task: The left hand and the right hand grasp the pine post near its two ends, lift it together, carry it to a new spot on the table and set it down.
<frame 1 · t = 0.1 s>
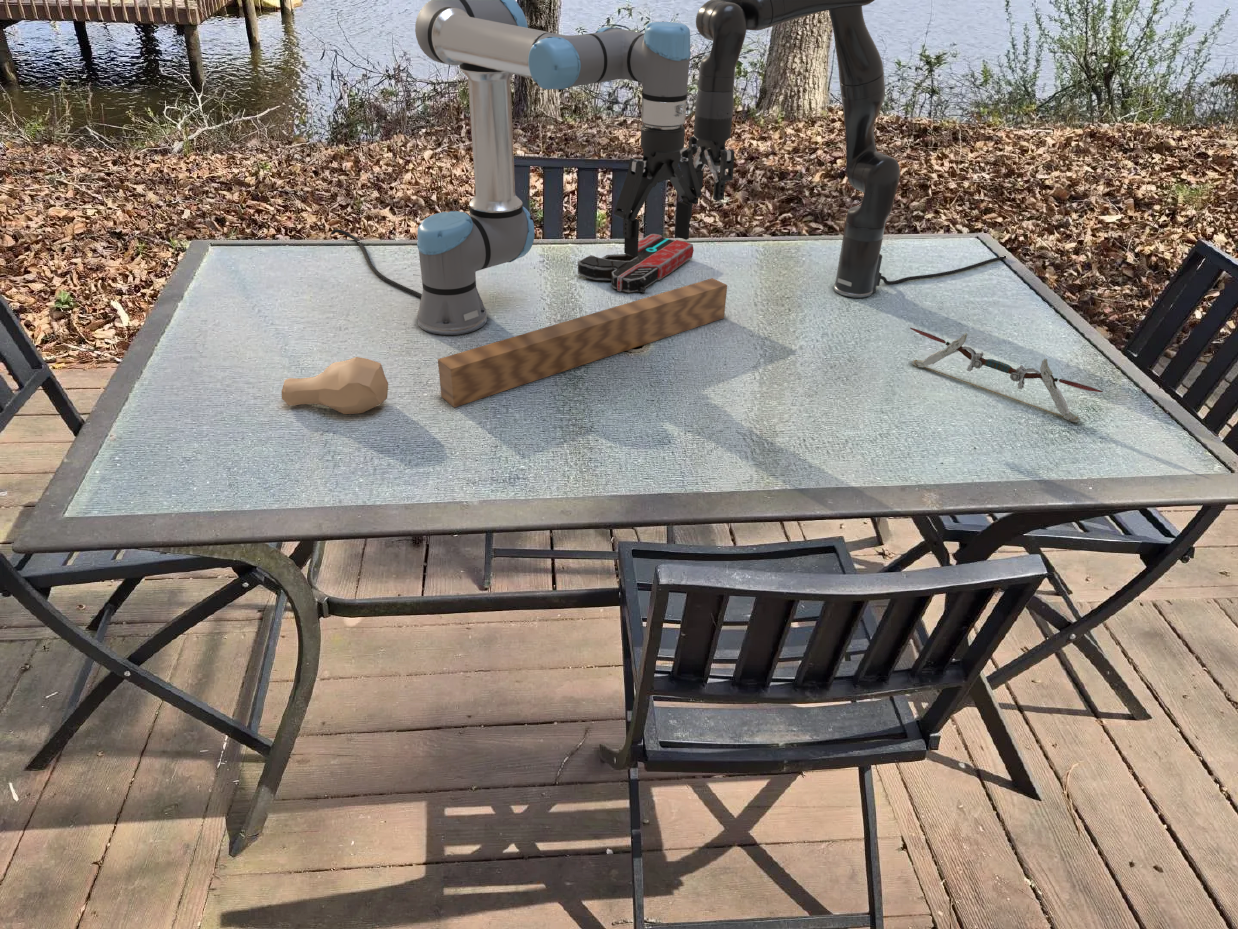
left hand: (657, 245, 161), 28 cm above the table, tool pointing down, fingers open, 13 cm apart
right hand: (707, 194, 184), 29 cm above the table, tool pointing down, fingers open, 8 cm apart
gun: (637, 269, 226), on the table
post: (595, 354, 185), on the table
squash: (338, 405, 165), on the table
bow: (990, 392, 176), on the table
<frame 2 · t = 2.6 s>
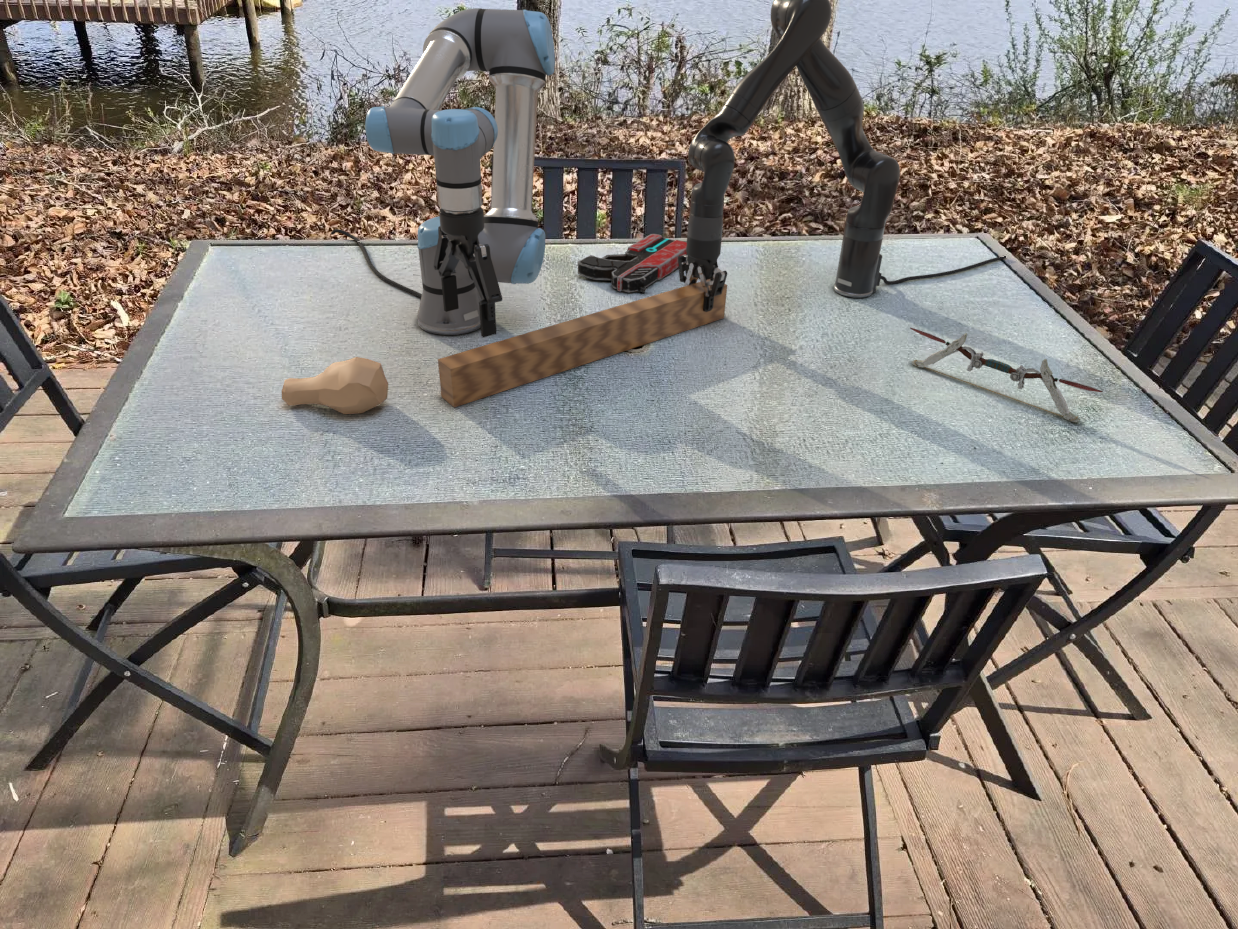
left hand: (469, 322, 162), 15 cm above the table, tool pointing down, fingers open, 13 cm apart
right hand: (698, 306, 199), 4 cm above the table, tool pointing down, fingers closed on post, 5 cm apart
post: (595, 354, 185), on the table, touching right hand
everything else where it was.
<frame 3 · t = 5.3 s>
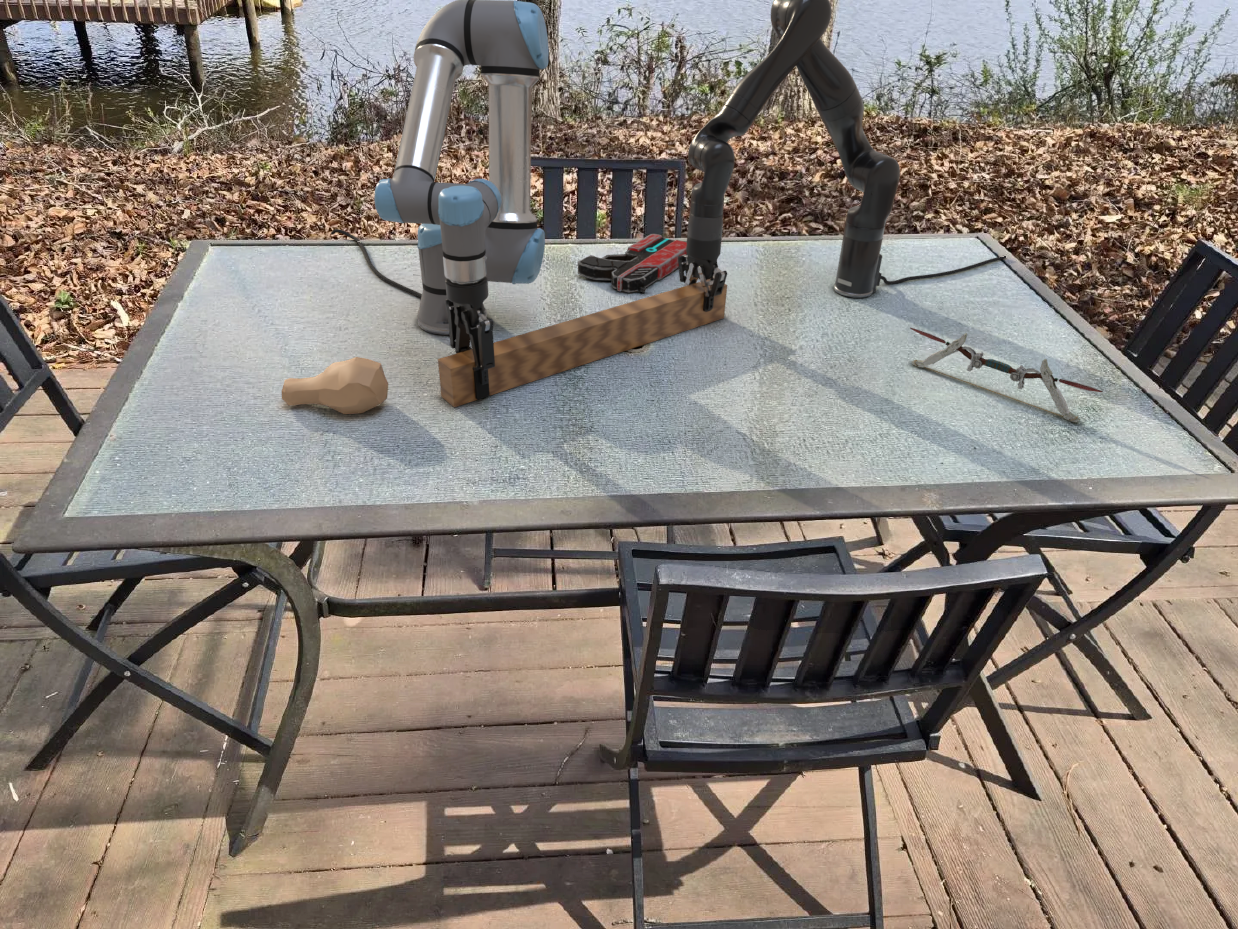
left hand: (474, 390, 170), 1 cm above the table, tool pointing down, fingers closed on post, 5 cm apart
right hand: (698, 306, 199), 4 cm above the table, tool pointing down, fingers closed on post, 5 cm apart
post: (595, 353, 185), on the table, touching left hand, right hand
everything else where it was.
when the left hand's fingers open (1 cm above the table, at t = 11.9 s): post stays where it is, on the table.
when the right hand's fingers open (4 cm above the table, at t = 12.1 s): post stays where it is, on the table.
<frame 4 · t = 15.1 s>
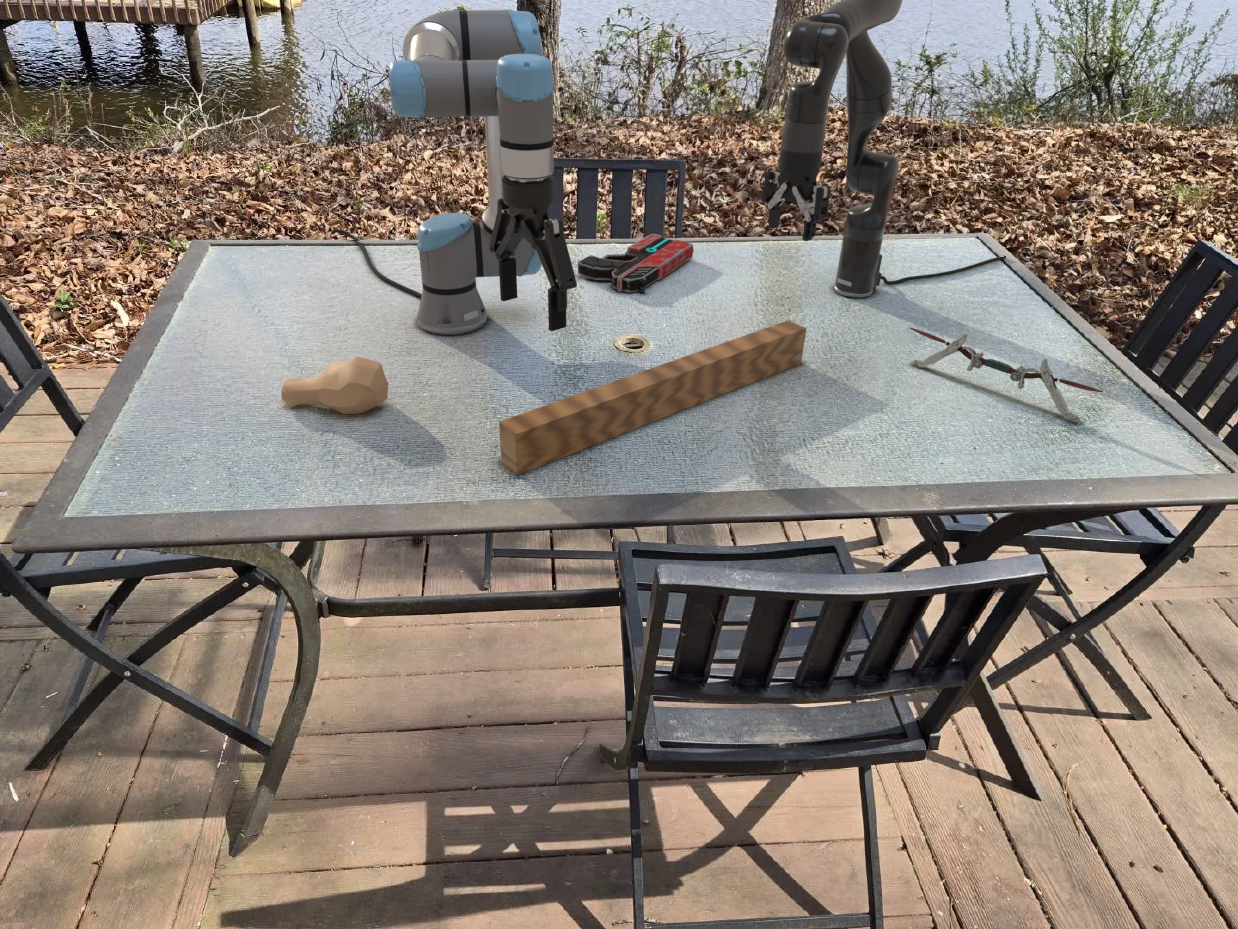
left hand: (532, 313, 137), 27 cm above the table, tool pointing down, fingers open, 13 cm apart
right hand: (790, 233, 166), 28 cm above the table, tool pointing down, fingers open, 8 cm apart
post: (666, 408, 167), on the table
everything else where it was.
at the end: post inside the target area (0.4 cm from its centre), on the table; post tilted 0°; post never tilted more than 1° during the clip; both hands held the post at the same time; the left hand is holding nothing; the right hand is holding nothing; post at rest at the end (0.0 cm/s) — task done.
